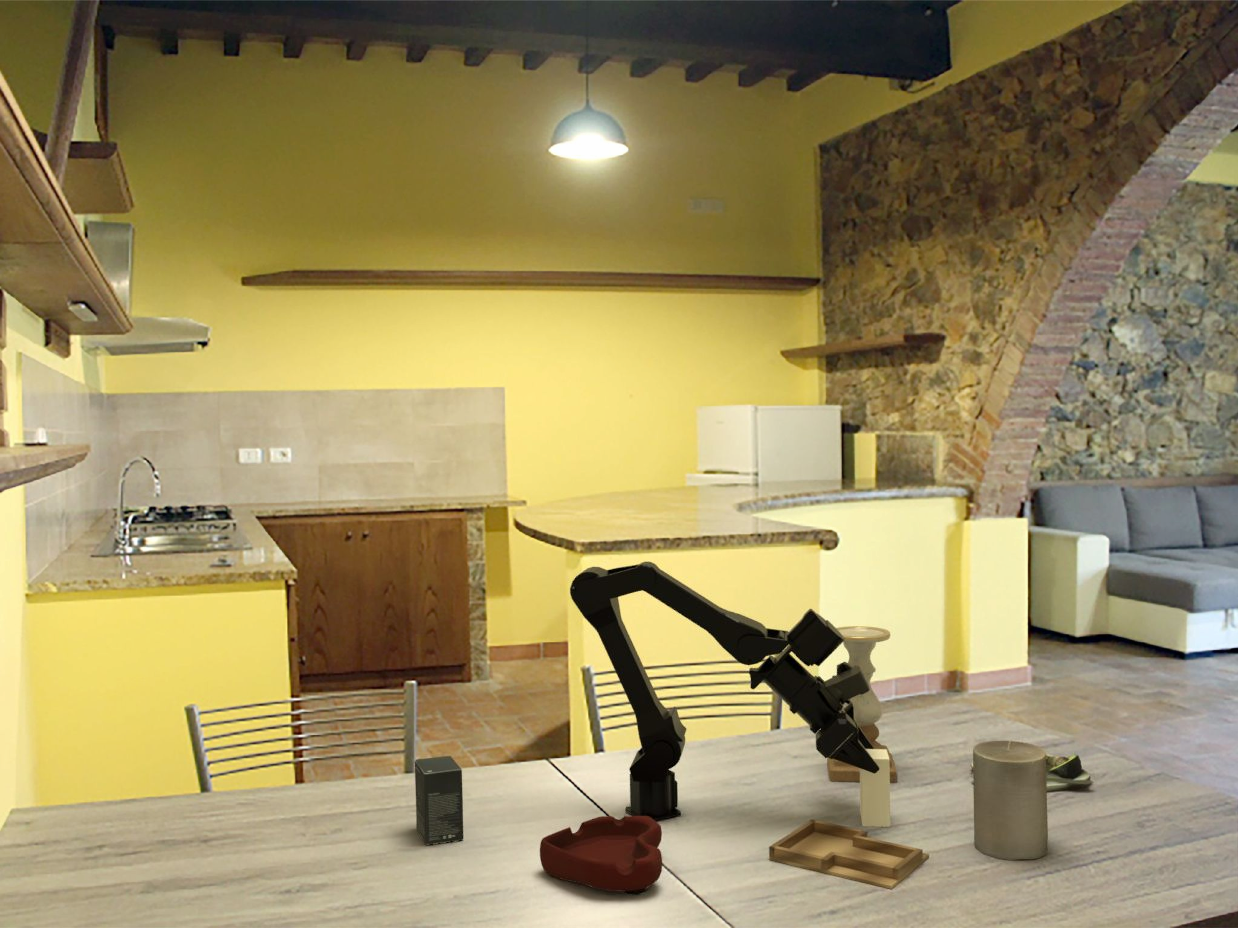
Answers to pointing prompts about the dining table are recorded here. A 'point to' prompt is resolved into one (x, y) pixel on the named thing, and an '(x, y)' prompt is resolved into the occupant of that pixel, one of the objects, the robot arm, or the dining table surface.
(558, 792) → the dining table surface
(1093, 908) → the dining table surface
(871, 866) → the keyhole frame
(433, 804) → the box
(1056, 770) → the salad plate
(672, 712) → the robot arm
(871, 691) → the candle holder
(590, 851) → the ashtray
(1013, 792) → the pillar candle
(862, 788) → the panel block
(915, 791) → the dining table surface
